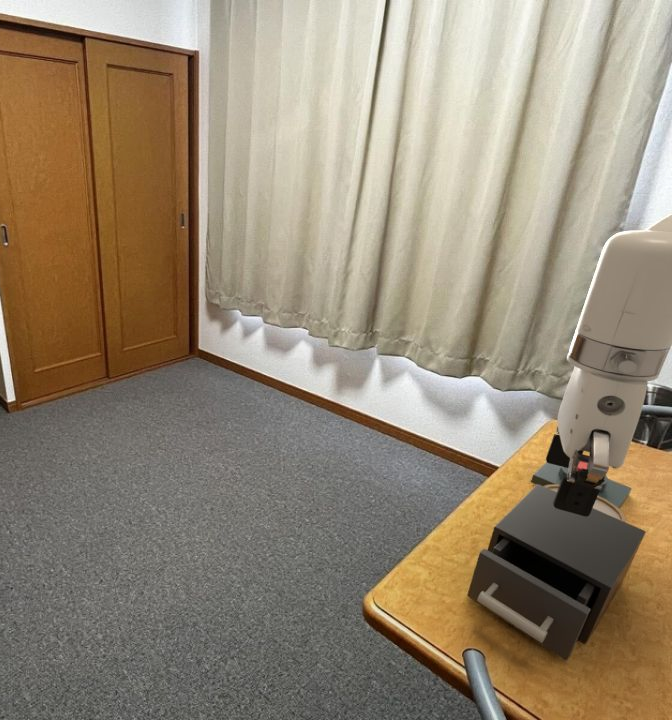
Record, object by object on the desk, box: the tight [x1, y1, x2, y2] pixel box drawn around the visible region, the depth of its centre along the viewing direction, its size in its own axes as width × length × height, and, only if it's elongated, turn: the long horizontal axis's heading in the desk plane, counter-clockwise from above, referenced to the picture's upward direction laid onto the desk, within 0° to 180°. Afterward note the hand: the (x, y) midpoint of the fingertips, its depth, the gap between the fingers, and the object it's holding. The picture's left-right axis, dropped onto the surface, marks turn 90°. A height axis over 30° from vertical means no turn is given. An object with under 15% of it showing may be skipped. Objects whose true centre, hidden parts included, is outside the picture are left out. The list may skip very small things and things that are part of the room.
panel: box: [530, 461, 633, 509], centre depth 84 cm, size 12×9×4 cm
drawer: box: [466, 537, 601, 662], centre depth 61 cm, size 17×11×8 cm, turn 127°
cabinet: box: [487, 484, 647, 645], centre depth 65 cm, size 15×13×10 cm
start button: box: [577, 462, 588, 472], centre depth 83 cm, size 4×4×2 cm
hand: (565, 486), depth 56 cm, fingers open, 9 cm apart
